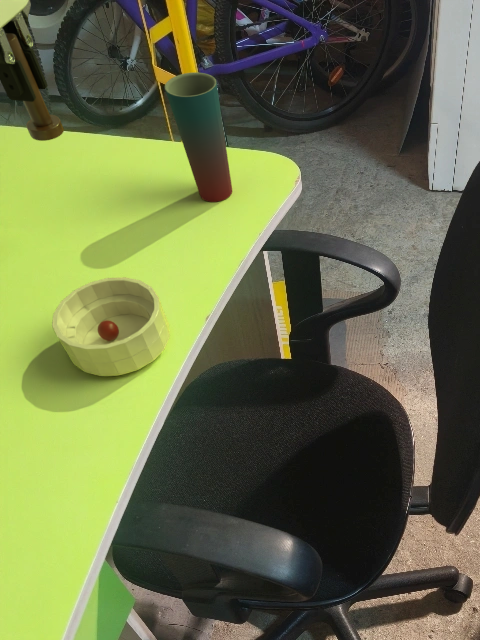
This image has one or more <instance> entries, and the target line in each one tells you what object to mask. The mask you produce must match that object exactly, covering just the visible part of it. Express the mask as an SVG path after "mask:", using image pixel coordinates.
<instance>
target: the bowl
mask: <svg viewBox="0 0 480 640" xmlns="http://www.w3.org/2000/svg"><path fill="white" fill-rule="evenodd" d="M105 320H109V321H112V322H114V323H115V324H116V325H117V326H118V329H119V334H118V336H117V338H116V339H114V340H111V341H107V340H104V339H102V338H101V337H100V336H99V334H98V330H97V329H98V325H99V324H100V323H101V322H102V321H105ZM51 323H52V325H51V326H52V330H53V331H54V333H55V335H56V337H57V339H58V341H59V342H60V344H61V346H62V347H63V349H64V350H65V352H66V354H67V355H68V357H69V359H70V361H71V362H72V364H73V365H74V366H76V367H77V368H78V369H79V370H81V371H82V372H84V373H87V374H91V375H95V376H99V377H114V376H115V377H116V376H122V375H126V374H129V373H132V372H136V371H139V370H140V369H142V368H144V367H145V366H148V365H149V364H151V363H152V362H155V360H156V359H157V358H158V357H159V356H160V355H161V354H162V353H163V352H164V351H165V349H166V347H167V345H168V343H169V341H170V339H171V338H170V337H171V330H170V323H169V320H168V318H167V315H166V312H165V310H164V307H163V305H162V302H161V300H160V297H159V296H158V294H157V293H156V291H155V289H154V288H153V287H152V286H151V285H149V284H148V283H146V282H144V281H142V280H140V279H136V278H131V277H127V276H126V277H125V276H123V277H122V276H121V277H105V278H102V279H97V280H93V281H90V282H87V283H85V284H84V285H81V286H79V287H78V288H76V289H74V290H72V291H71V292H70V293H69V294H67V295H66V296H65V297H64V298H63V299H62V300H61V301H60V302H59V303H58V305H57V306H56V309H55V310H54V311H53V314H52V322H51Z"/></svg>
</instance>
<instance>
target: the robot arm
mask: <svg viewBox="0 0 480 640" xmlns="http://www.w3.org/2000/svg"><path fill="white" fill-rule="evenodd" d="M31 8H32V4H31V0H0V83H1V85H2V87H3V90H4V92H5V94H6V96H7V98H8V99H9V100H11V101H17V102H23V101H29V102H33V101H34V100H35V99H36V96H35V93H34V91H33V89H32V86H31V84H30V82H29V79H28V77H27V75H26V73H25V70H24V68H23V66H22V63H21V61H20V60H15V57H14V54H13V52H12V49H11V47H10V45H9V42H8V40H7V38H6V35H5V34H6V33H11V34H15V35H16V36H17V39H18V41H19V44H20V46H21V48H22V51H23V53H24V55H25V58H26V60H27V62H28V65H29V67H30V69H31V72H32V74H33V76H34V79H35V81H36V83H37V86H38V88H39V90H46V89H47V88H48V82H47V80H46V77H45V76H44V75H45V74H44V72H43V70H42V68H41V66H40V63H39V60H38V59H37V55H36V53H35V50H34V48H33V46H34V41H33V37H32V35H31V33H30V30H29V15H30V11H31Z"/></svg>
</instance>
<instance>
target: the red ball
mask: <svg viewBox="0 0 480 640" xmlns="http://www.w3.org/2000/svg"><path fill="white" fill-rule="evenodd" d="M97 330H98V334H99V336H100V337H101V338H102V339H104V340H107V341H111V340H114V339H116V338H117V336H118V334H119V329H118V326H117V325H116V324H115V323H114V322H112V321H109V320H105V321H102V322H101V323H100V324H99V325H98V329H97Z"/></svg>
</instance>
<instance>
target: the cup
mask: <svg viewBox="0 0 480 640" xmlns="http://www.w3.org/2000/svg"><path fill="white" fill-rule="evenodd" d="M164 91H165V94H166V96H167V99H168V102H169V106H170V108H171V112H172V114H173V118H174V121H175V124H176V127H177V130H178V134H179V136H180V139H181V142H182V145H183V148H184V151H185V154H186V157H187V161H188V163H189V166H190V170H191V172H192V175H193V178H194V181H195V185H196V188H197V191H198V194H199V197H200V198H201V199H202V200H203V201H206V202H209V203H210V202H211V203H217V202H222V201H224V200H227V199H228V198H230V197H231V196H232V194H233V185H232V177H231V172H230V165H229V157H228V151H227V145H226V138H225V137H226V136H225V131H224V123H223V116H222V110H221V104H220V96H219V89H218V83H217V79H216V78H215V77H214V76H213V75H211V74H208V73H205V72H195V71H194V72H186V73H182V74H181V73H180V74H177V75H176V76H174V77H172V78H170V79H168V80H167V81H166V82H165V84H164Z"/></svg>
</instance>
